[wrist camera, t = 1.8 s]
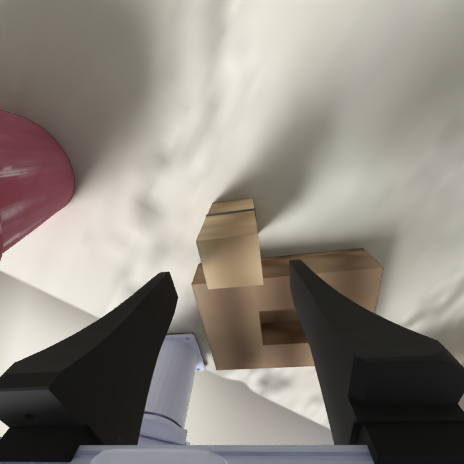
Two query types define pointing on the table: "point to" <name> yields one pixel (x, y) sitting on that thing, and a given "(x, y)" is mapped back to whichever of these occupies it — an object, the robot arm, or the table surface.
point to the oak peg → (230, 245)
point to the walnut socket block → (277, 309)
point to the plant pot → (29, 178)
